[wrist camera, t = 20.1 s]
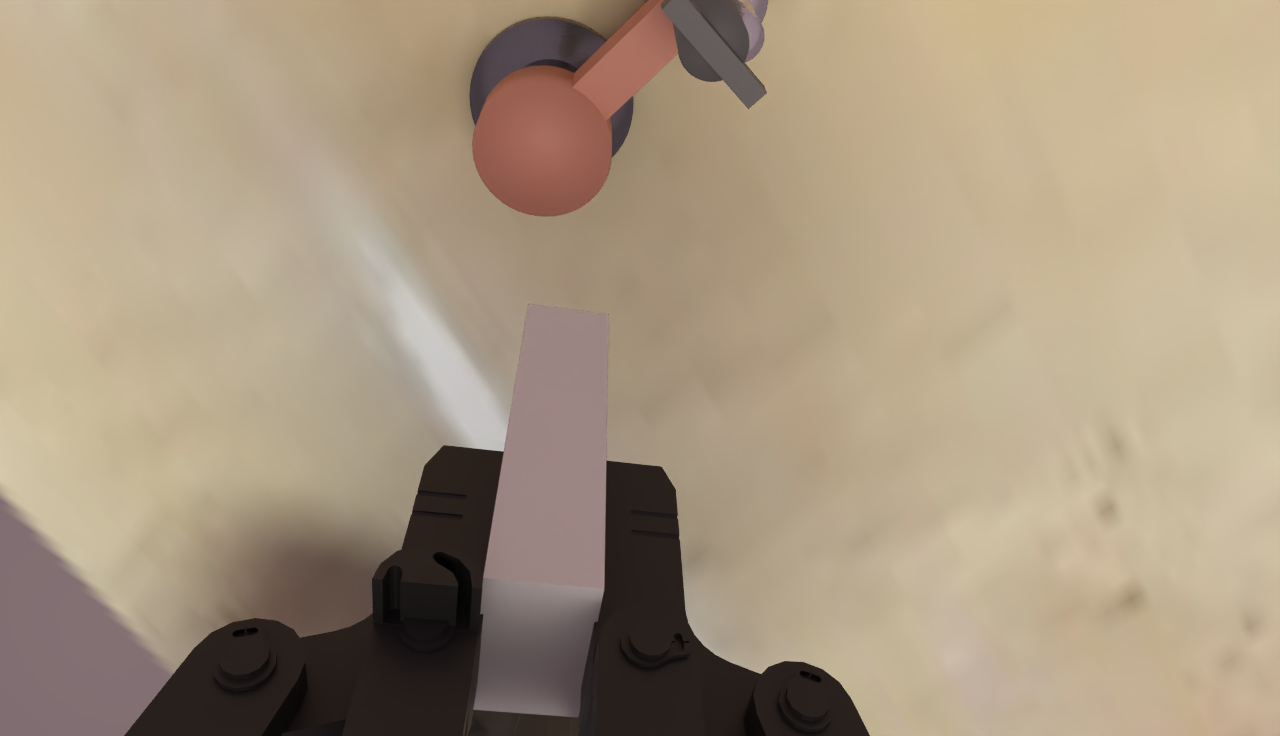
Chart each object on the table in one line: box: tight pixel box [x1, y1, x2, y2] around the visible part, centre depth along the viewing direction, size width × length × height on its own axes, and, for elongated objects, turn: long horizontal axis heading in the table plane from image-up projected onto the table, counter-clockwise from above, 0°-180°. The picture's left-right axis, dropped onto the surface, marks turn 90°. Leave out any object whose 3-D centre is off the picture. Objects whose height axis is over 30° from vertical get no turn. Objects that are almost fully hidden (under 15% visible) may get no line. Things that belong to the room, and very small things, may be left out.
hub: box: [470, 17, 633, 158], centre depth 42 cm, size 8×8×4 cm
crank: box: [472, 0, 767, 216], centre depth 34 cm, size 13×6×10 cm, turn 133°
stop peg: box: [734, 0, 768, 62], centre depth 38 cm, size 4×4×7 cm
